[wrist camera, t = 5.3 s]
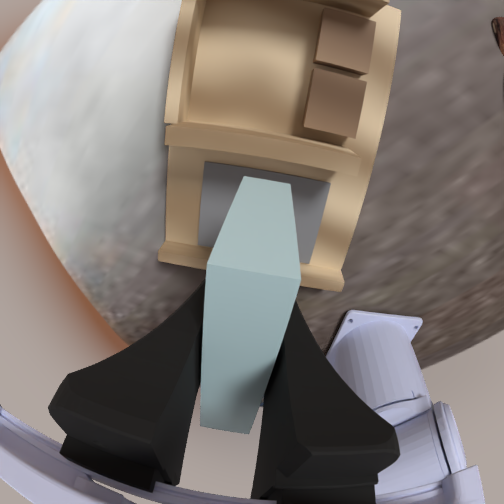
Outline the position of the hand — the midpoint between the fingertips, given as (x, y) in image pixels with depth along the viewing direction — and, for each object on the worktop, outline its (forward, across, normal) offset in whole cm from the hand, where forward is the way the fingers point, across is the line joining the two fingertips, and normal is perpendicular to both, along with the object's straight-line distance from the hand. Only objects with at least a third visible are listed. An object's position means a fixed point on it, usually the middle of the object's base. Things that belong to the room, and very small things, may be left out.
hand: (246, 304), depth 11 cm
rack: (+10, 0, -6) cm, 11 cm away
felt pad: (+10, 0, 0) cm, 10 cm away
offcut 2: (+9, -3, -8) cm, 13 cm away
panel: (+3, 0, 0) cm, 3 cm away
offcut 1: (+9, -3, -12) cm, 15 cm away
